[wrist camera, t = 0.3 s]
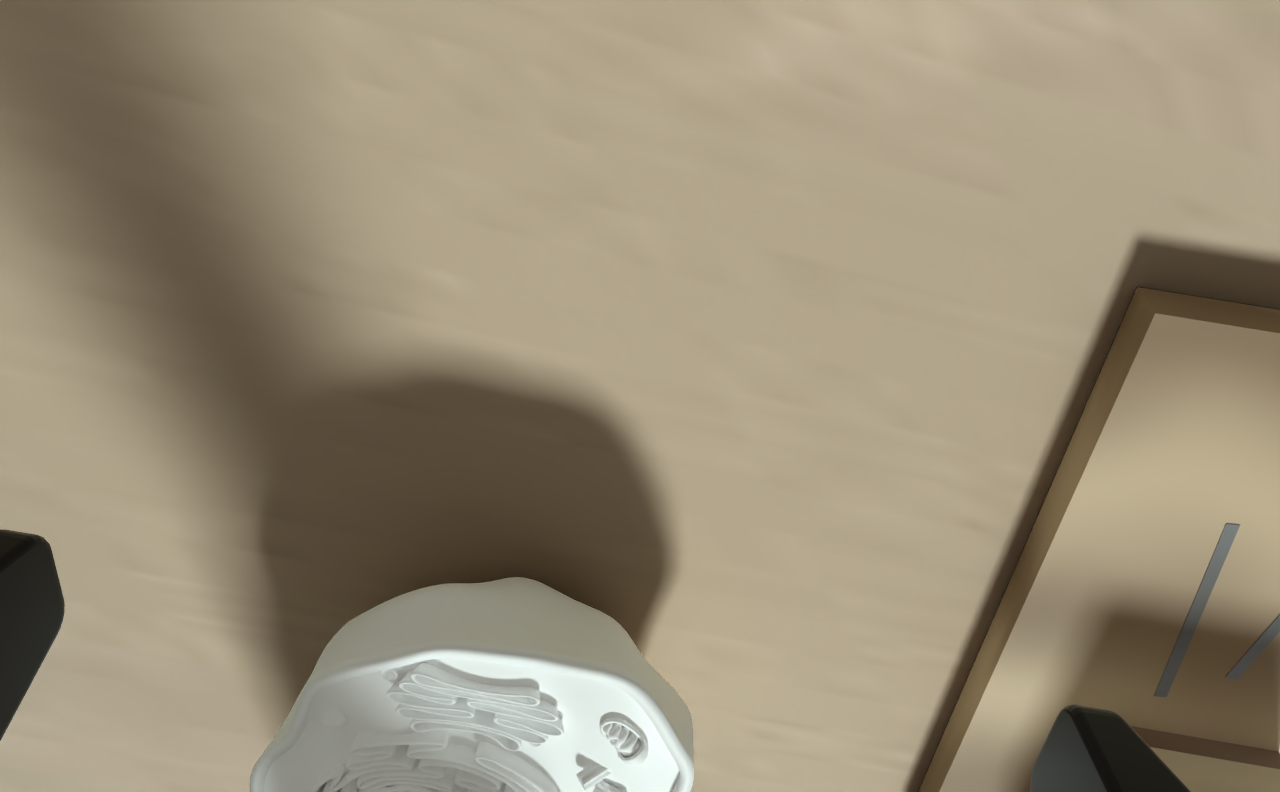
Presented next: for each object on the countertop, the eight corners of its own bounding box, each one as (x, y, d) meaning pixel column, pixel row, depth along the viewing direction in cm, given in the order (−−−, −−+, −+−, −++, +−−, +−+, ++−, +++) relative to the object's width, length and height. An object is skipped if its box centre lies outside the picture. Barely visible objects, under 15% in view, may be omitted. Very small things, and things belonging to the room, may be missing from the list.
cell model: (782, 682, 29) (788, 911, 23) (472, 813, 34) (414, 1031, 28) (555, 435, 25) (496, 637, 19) (241, 622, 30) (120, 830, 24)
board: (1270, 876, 31) (1287, 914, 30) (908, 813, 31) (913, 849, 30) (1667, 372, 21) (1713, 403, 20) (1137, 286, 21) (1155, 313, 20)
